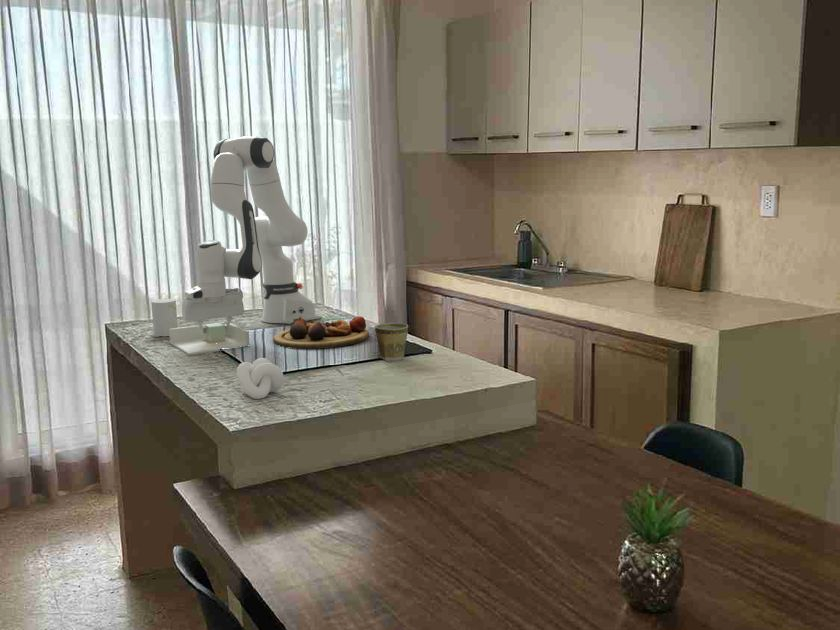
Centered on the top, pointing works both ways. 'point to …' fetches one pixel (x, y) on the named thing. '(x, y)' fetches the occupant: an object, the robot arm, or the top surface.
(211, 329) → the cube
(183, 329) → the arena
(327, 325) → the wooden plate with food
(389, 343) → the ceramic cup
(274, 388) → the white knot sculpture
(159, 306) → the cup
